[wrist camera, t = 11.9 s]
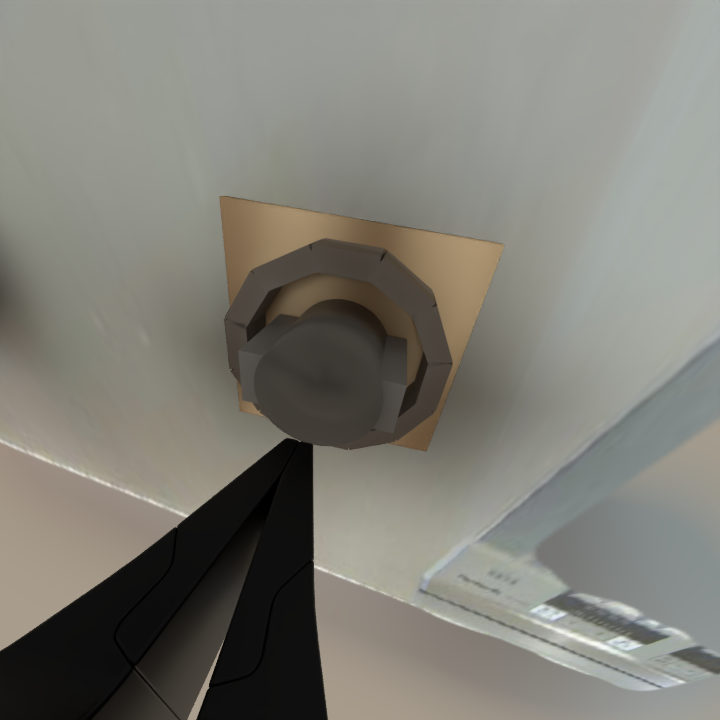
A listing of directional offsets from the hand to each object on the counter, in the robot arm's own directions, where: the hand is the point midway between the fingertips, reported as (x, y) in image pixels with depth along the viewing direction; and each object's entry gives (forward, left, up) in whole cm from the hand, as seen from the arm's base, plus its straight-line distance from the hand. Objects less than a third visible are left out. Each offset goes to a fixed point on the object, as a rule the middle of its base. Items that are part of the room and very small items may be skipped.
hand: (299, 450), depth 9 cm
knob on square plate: (0, 0, -8) cm, 8 cm away
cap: (0, 0, -7) cm, 7 cm away
